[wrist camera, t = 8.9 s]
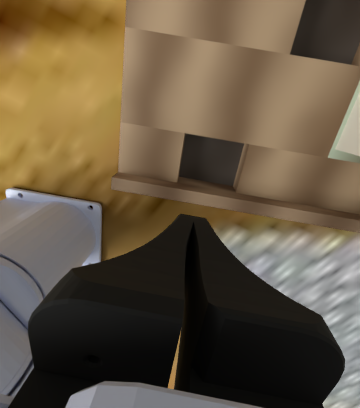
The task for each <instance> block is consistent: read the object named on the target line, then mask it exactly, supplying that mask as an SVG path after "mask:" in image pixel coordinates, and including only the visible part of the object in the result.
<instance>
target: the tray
mask: <svg viewBox="0 0 360 408" xmlns="http://www.w3.org/2000/svg"><path fill="white" fill-rule="evenodd" d="M359 92H360V0H126V20H125V41H124V62H123V82H122V103H121V124H120V144H119V165H118V173H117V174H115V175H114V176H113V177H112V183H111V189H113V190H119V191H124V192H130V193H136V194H141V195H147V196H153V197H158V198H164V199H170V200H176V201H181V202H187V203H193V204H198V205H204V206H210V207H215V208H221V209H227V210H233V211H238V212H244V213H250V214H255V215H261V216H267V217H272V218H278V219H284V220H290V221H295V222H301V223H307V224H312V225H318V226H324V227H329V228H335V229H341V230H347V231H352V232H358V233H360V156H357V155H354V154H350V153H346V152H343V151H339V150H336V149H335V148H336V146H337V144H338V141H339V139H340V137H341V134H342V132H343V130H344V127H345V125H346V123H347V120H348V118H349V116H350V113H351V111H352V108H353V106H354V104H355V101H356V99H357V97H358V94H359Z"/></svg>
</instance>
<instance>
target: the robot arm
mask: <svg viewBox="0 0 360 408" xmlns="http://www.w3.org/2000/svg"><path fill="white" fill-rule="evenodd" d="M21 194H22V195H23V196H22V195H21ZM6 197H7V198H6V199H4V200H2V201H0V408H324V407H323V404H322V403H323V402H324V400H325V399H326V398H327V396H328V395H329V394H330V392H331V391H332V390H333V388H334V387H335V386H336V384H337V383H338V381H339V380H340V378H341V376H342V374H343V372H344V368H345V358H344V356H343V353H342V351H341V349H340V347H339V345H338V344H337V342H336V340H335V338H334V337H333V335H332V333H331V331H330V330H329V328H328V326H327V324H326V323H325V321H324V319H323V318H322V316H321V315H319V314H317V313H315V312H314V311H312V310H310V309H308V308H306V307H305V306H303V305H301V304H299V303H297V302H296V301H294V300H292V299H290V298H289V297H287V296H285V295H284V294H282V293H281V292H279V291H278V290H276V289H274V288H273V287H271V286H270V285H269V284H267V283H266V282H264V281H263V280H262V279H260V278H259V277H258V276H256V275H255V274H254V273H253V272H251V271H250V270H249V269H248V268H247V267H245V266H244V265H243V264H242V263H241V262H240V261H239V260H238V259H237V258H236V257H235V256H234V255H233V254H232V253H231V252H230V251H229V250H228V249H227V247H226V246H225V245H224V244H223V243H222V241H221V240H220V239H219V237H218V236H217V235H216V233H215V232H214V230H213V229H212V227H211V225H210V224H209V222H208V221H207V219H206V218H201V217H195V216H190V215H184V214H180V215H178V217H177V218H176V219H175V221H174V222H173V223H172V224H171V225H170V226H169V227H168V228H167V229H165V230H164V231H163V232H162V233H161V234H159V235H158V236H157V237H155V238H154V239H153V240H151V241H150V242H148V243H147V244H145V245H143V246H141V247H139V248H137V249H135V250H133V251H131V252H128V253H126V254H124V255H121V256H118V257H115V258H112V259H109V260H106V261H102V262H101V233H102V206H101V205H100V204H99V203H96V202H91V201H85V200H79V199H74V198H68V197H62V196H57V195H51V194H45V193H40V192H34V191H28V190H23V189H17V188H9V189H7V190H6ZM90 205H91V206H92V207H93V209H92V208H90ZM90 263H91V264H90ZM181 327H182V328H181ZM180 331H181V337H180V345H179V353H178V362H177V370H176V378H175V386H174V390H173V389H168V388H167V387H168V383H169V379H170V374H171V370H172V366H173V361H174V357H175V353H176V348H177V344H178V340H179V335H180Z"/></svg>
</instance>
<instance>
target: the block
mask: <svg viewBox="0 0 360 408" xmlns="http://www.w3.org/2000/svg"><path fill="white" fill-rule="evenodd" d="M335 149H336V150H339V151H343V152H346V153H350V154H354V155H357V156H360V92H359V94H358V97H357V99H356V101H355V104H354V106H353V108H352V111H351V113H350V116H349V118H348V120H347V123H346V125H345V127H344V130H343V132H342V134H341V137H340V139H339V141H338V144H337V146H336V148H335Z"/></svg>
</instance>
